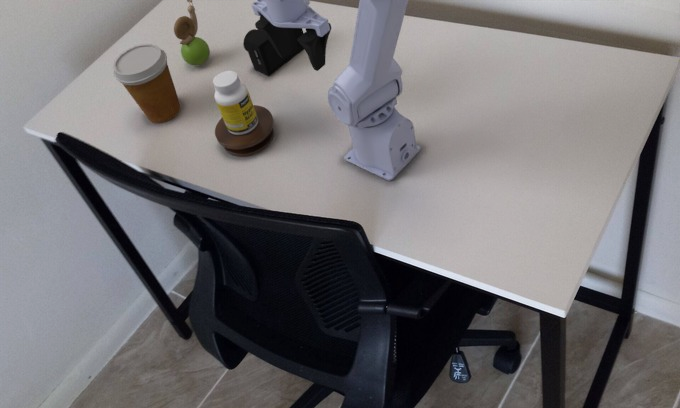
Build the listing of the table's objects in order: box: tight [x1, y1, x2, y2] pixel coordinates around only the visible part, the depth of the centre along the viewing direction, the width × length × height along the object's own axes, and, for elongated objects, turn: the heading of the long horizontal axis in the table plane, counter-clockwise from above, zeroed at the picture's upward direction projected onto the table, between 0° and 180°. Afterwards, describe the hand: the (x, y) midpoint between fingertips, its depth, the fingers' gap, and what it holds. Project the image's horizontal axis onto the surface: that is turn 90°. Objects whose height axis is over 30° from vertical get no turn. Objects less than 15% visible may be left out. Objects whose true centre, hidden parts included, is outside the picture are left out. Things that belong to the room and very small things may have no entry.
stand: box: [214, 104, 275, 158], centre depth 113 cm, size 10×10×3 cm
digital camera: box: [243, 28, 305, 78], centre depth 126 cm, size 10×5×7 cm, turn 136°
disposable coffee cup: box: [112, 43, 182, 124], centre depth 120 cm, size 10×10×12 cm
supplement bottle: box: [212, 70, 258, 135], centre depth 109 cm, size 5×5×10 cm
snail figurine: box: [173, 0, 211, 67], centre depth 128 cm, size 5×6×12 cm
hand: (302, 60), depth 109 cm, fingers open, 7 cm apart
